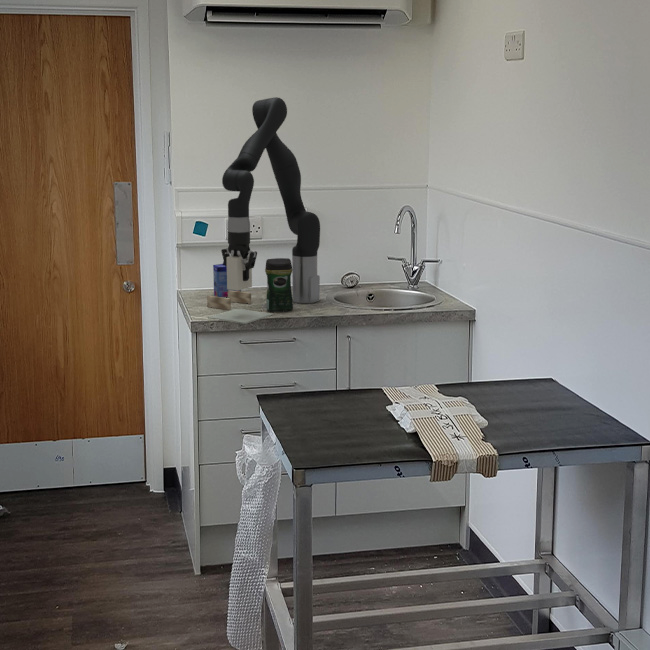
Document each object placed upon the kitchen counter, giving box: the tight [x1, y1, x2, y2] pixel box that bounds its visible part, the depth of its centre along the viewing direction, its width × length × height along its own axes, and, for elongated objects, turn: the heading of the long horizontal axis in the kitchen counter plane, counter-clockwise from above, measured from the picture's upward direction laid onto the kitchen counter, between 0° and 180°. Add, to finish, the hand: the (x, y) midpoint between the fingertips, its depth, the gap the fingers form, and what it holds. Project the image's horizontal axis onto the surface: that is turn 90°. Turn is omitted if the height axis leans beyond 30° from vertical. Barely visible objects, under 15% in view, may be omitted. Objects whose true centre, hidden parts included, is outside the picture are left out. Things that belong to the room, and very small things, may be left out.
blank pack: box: [227, 254, 253, 291], centre depth 322 cm, size 4×8×11 cm, turn 148°
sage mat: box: [207, 308, 274, 325], centre depth 326 cm, size 16×16×1 cm
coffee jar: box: [264, 257, 294, 313], centre depth 334 cm, size 10×8×19 cm
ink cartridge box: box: [212, 260, 242, 298], centre depth 359 cm, size 10×6×14 cm, turn 115°
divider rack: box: [206, 290, 252, 311], centre depth 344 cm, size 10×13×4 cm
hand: (239, 279), depth 323 cm, fingers closed on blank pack, 4 cm apart
